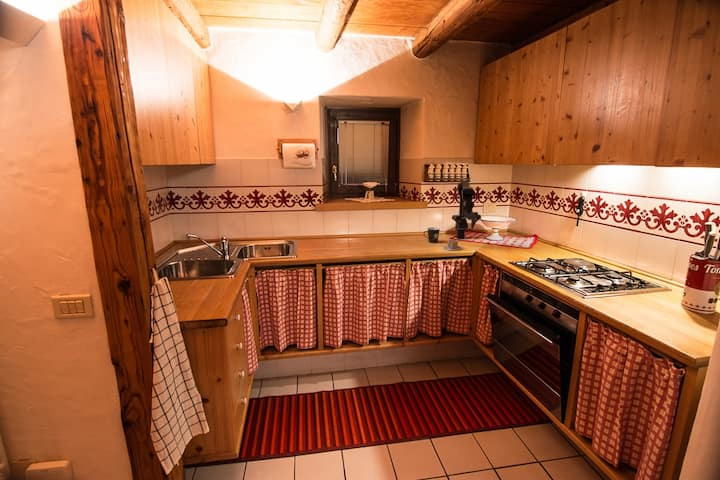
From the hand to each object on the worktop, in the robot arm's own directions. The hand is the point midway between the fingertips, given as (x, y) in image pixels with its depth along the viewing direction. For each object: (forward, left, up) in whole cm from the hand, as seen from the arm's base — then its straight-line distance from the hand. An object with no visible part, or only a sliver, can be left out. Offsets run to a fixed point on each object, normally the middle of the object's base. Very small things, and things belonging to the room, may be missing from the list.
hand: (465, 229), depth 241 cm
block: (+4, -11, -11) cm, 16 cm away
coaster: (+4, -11, -12) cm, 16 cm away
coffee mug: (-16, -18, -12) cm, 27 cm away
